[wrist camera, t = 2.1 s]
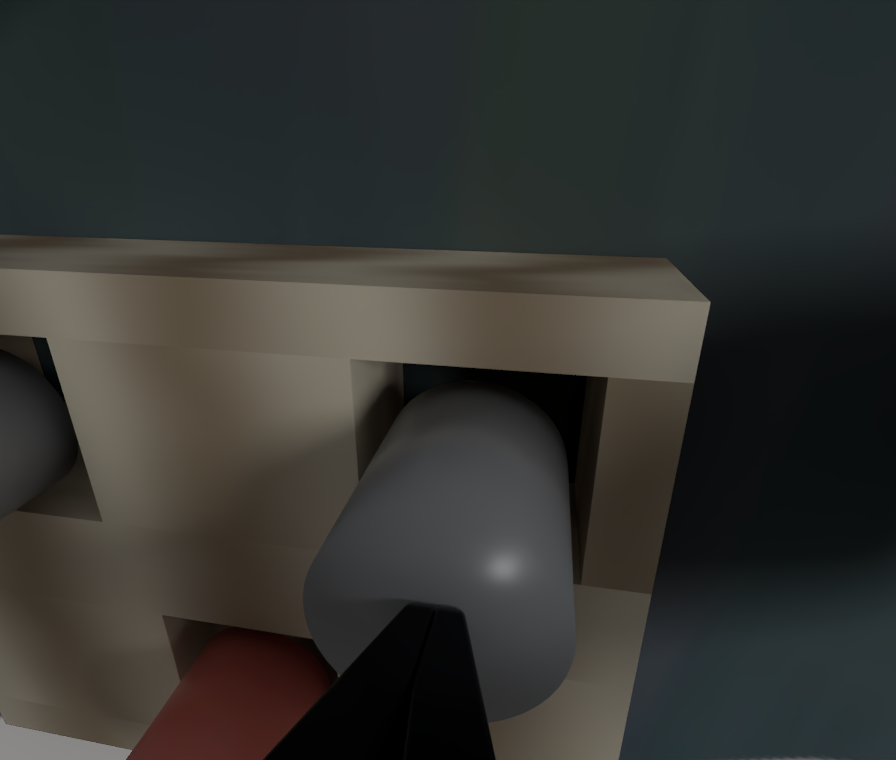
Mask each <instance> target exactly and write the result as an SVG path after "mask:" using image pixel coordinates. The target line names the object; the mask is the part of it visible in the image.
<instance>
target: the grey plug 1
mask: <svg viewBox="0 0 896 760" xmlns="http://www.w3.org/2000/svg"><path fill="white" fill-rule="evenodd" d="M77 455H78V440H77V436H76V433H75V430H74V427H73V423H72V420H71V417H70V414H69V410H68V407H67V406H66V404H65V402H64V401H63V399H62V398H61V396H60V395H59V393H58V392H57V391H56V390H55V388H54V387H53V386H52V385H51V384H50V383H49V381H48V380H47V379H46V378H45V377H44V376H43V375H41V374H40V373H39V372H38V371H37V370H36V369H34V368H33V367H32V366H31V365H29V364H28V363H26V362H25V361H23V360H22V359H20V358H19V357H17V356H15V355H13V354H11V353H9V352H7V351H4V350H2V349H0V520H2V519H3V518H5V517H6V516H8V515H9V514H11V513H12V512H13V511H15V510H16V509H18V508H19V507H21V506H22V505H24V504H25V503H27V502H28V501H30V500H31V499H33V498H34V497H36V496H37V495H39V494H40V493H42V492H43V491H45V490H46V489H48V488H49V487H51V486H52V485H53V484H55V483H56V482H58V481H59V480H61V479H62V478H64V477H65V476H66V475H67V474H68V473H69V472H70V471H71V470H72V468H73V466H74V464H75V462H76V459H77Z"/></svg>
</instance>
